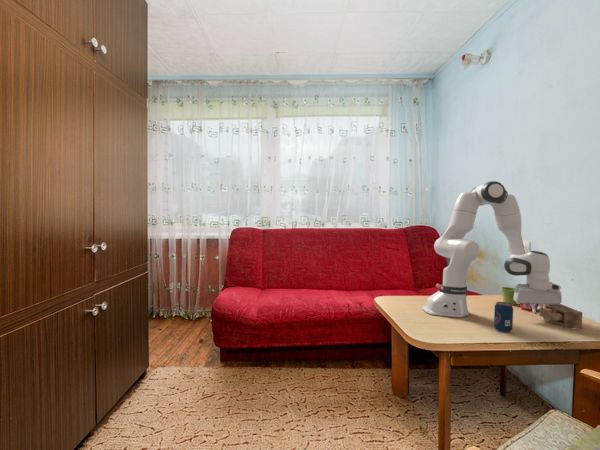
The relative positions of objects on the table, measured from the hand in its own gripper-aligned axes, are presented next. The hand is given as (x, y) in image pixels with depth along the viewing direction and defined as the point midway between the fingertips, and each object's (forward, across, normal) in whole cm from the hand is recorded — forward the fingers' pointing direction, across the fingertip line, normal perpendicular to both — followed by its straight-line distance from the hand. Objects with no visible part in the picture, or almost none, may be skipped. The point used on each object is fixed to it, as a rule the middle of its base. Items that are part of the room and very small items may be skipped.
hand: (536, 312), depth 152 cm
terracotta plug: (+2, +6, 0) cm, 6 cm away
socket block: (+4, +9, -3) cm, 11 cm away
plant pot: (+4, +3, +28) cm, 28 cm away
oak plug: (+2, +4, -7) cm, 8 cm away
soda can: (+4, -24, -16) cm, 29 cm away
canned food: (+4, +7, +17) cm, 18 cm away
